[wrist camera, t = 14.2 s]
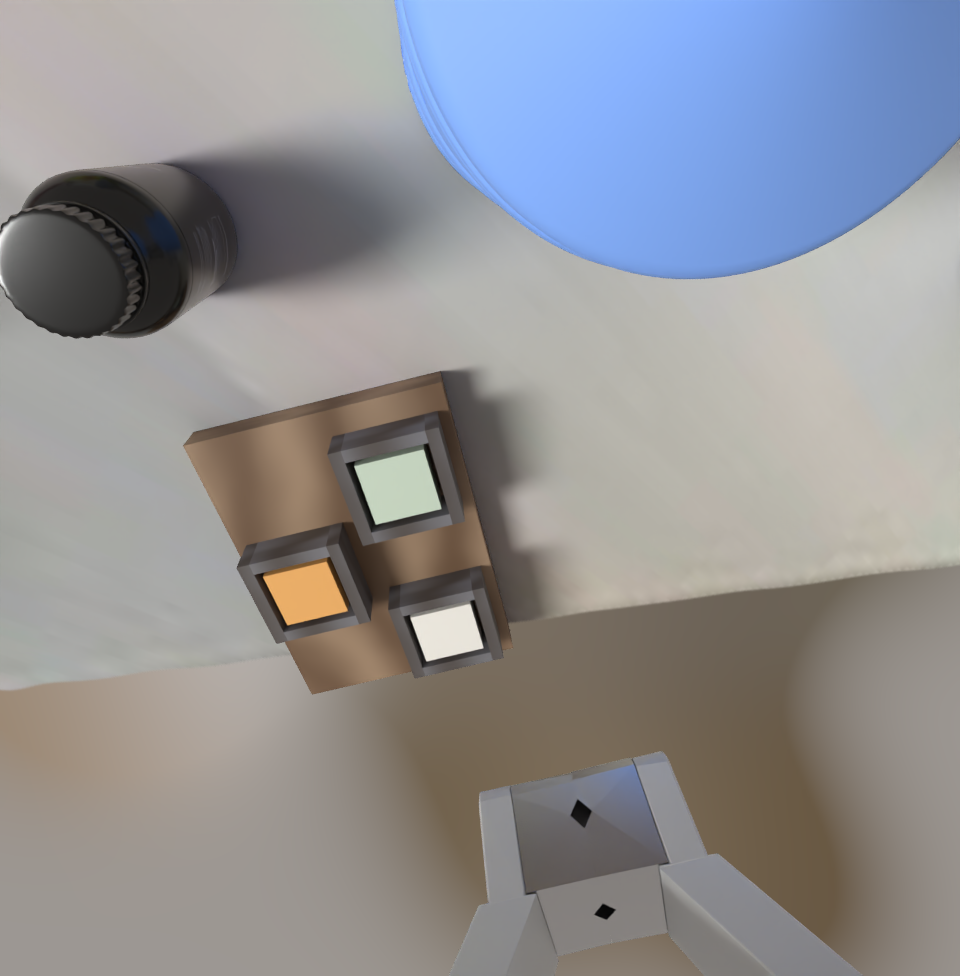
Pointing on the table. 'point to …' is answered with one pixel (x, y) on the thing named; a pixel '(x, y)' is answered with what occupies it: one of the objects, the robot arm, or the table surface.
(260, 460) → the button panel
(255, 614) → the table surface
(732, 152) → the water jug
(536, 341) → the table surface
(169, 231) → the supplement bottle
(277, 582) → the orange button
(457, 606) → the cream button
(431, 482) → the sage button
